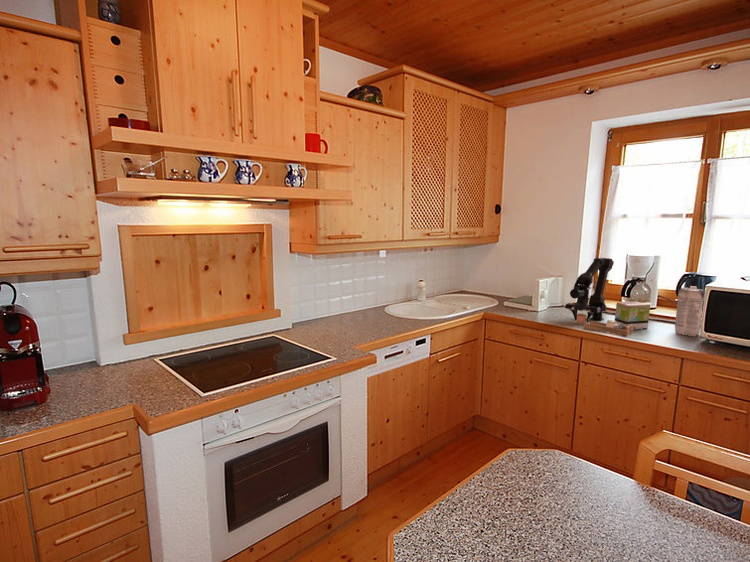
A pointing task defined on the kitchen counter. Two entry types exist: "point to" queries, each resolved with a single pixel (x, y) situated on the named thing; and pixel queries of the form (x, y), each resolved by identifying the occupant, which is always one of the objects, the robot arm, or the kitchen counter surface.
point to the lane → (602, 327)
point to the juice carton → (689, 311)
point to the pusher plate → (619, 326)
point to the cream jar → (611, 323)
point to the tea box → (632, 314)
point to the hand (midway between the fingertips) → (581, 321)
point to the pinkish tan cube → (581, 318)
